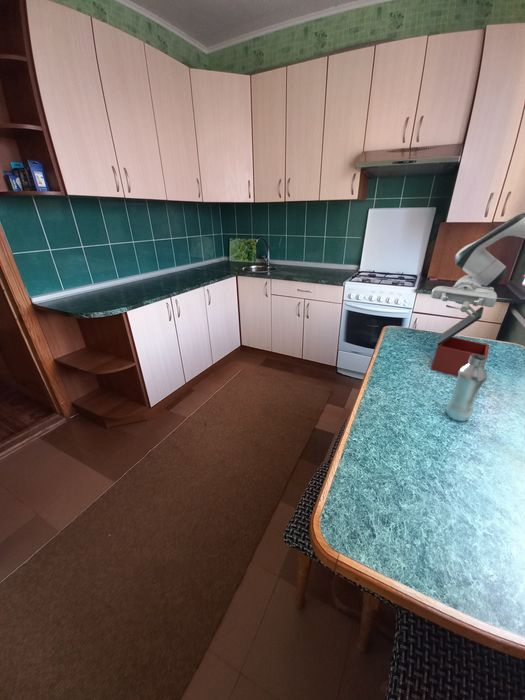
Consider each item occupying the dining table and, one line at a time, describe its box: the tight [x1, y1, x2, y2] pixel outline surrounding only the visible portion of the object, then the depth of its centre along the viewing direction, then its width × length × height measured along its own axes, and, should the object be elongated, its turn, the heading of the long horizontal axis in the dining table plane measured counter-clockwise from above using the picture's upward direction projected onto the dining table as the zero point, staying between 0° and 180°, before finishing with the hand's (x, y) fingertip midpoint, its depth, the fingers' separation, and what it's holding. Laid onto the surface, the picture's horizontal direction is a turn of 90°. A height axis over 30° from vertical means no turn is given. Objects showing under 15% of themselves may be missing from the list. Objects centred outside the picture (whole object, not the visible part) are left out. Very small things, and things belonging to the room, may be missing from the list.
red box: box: [430, 336, 490, 377], centre depth 107 cm, size 15×12×10 cm
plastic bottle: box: [445, 354, 487, 422], centre depth 81 cm, size 6×7×20 cm
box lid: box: [437, 301, 484, 346], centre depth 104 cm, size 16×12×6 cm
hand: (459, 301), depth 103 cm, fingers open, 8 cm apart
